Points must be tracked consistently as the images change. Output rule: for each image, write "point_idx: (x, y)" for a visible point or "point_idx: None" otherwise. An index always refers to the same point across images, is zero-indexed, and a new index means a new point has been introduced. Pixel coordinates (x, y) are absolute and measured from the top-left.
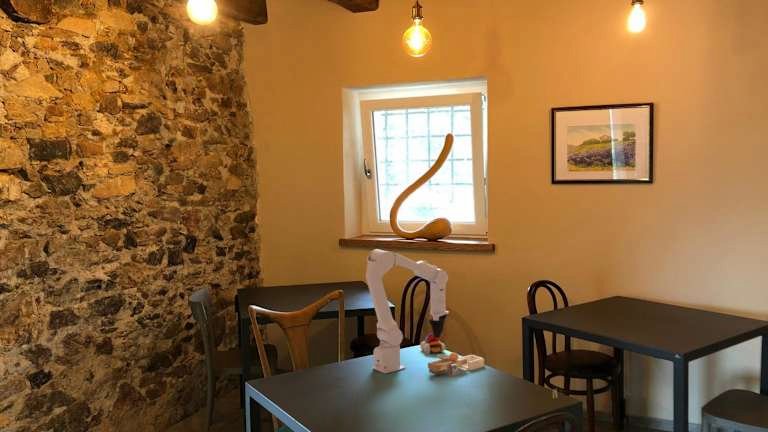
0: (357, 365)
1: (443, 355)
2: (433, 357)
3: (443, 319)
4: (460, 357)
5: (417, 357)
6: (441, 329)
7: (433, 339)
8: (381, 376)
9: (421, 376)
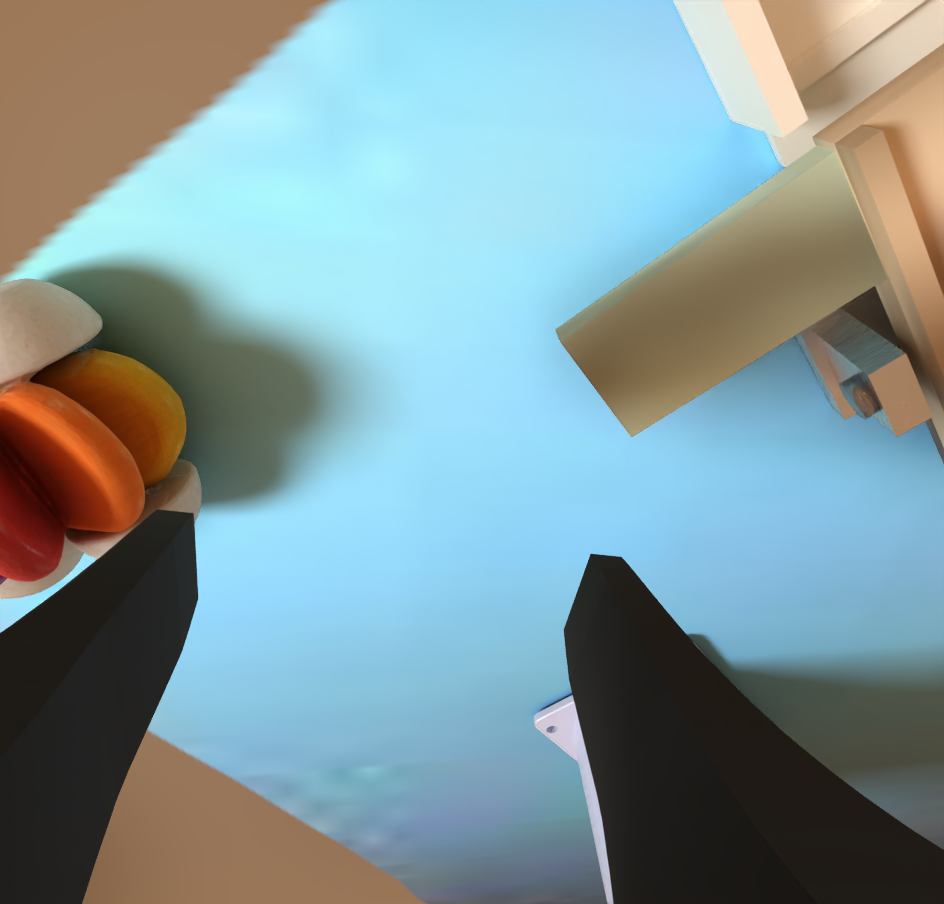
0: (542, 859)
1: (647, 354)
2: (320, 413)
3: (10, 783)
4: (755, 74)
5: (333, 560)
6: (168, 573)
7: (21, 515)
8: (817, 744)
9: (937, 517)
